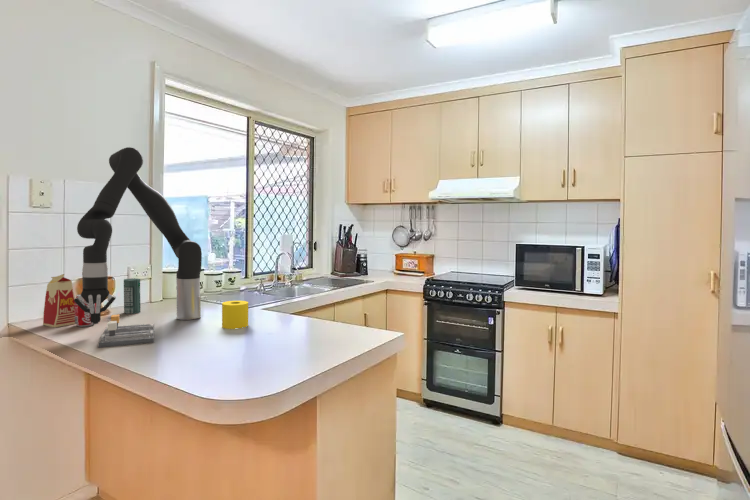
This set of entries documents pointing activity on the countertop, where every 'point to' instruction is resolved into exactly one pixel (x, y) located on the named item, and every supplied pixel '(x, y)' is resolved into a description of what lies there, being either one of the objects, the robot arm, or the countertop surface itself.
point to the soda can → (82, 315)
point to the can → (132, 296)
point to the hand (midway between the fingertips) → (95, 323)
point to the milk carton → (59, 303)
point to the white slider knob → (112, 327)
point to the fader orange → (115, 318)
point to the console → (128, 335)
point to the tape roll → (234, 314)
